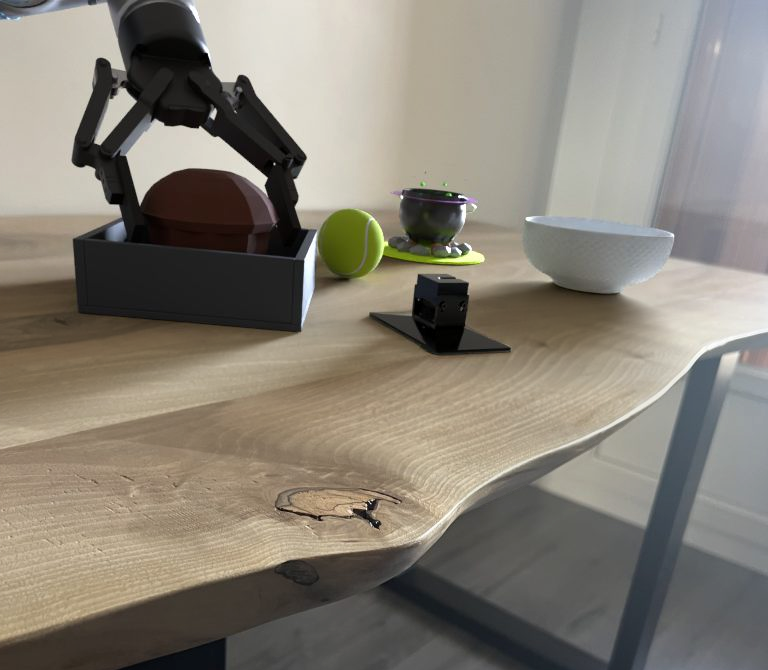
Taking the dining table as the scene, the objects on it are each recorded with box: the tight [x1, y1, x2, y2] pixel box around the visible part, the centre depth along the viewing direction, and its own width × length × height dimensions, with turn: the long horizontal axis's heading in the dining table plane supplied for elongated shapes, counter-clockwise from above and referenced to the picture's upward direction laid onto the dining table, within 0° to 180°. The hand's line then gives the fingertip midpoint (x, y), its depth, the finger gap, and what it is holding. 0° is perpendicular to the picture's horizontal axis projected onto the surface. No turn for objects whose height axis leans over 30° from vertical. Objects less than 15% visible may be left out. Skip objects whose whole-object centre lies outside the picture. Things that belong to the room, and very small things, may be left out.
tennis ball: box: [317, 208, 385, 279], centre depth 86 cm, size 7×7×7 cm
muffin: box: [139, 167, 280, 255], centre depth 70 cm, size 12×11×10 cm
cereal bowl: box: [521, 215, 675, 294], centre depth 95 cm, size 17×17×7 cm
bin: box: [72, 215, 319, 333], centre depth 71 cm, size 18×18×6 cm
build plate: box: [368, 273, 512, 356], centre depth 68 cm, size 12×7×5 cm, turn 27°
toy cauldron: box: [382, 163, 485, 265], centre depth 105 cm, size 15×15×11 cm
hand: (218, 237), depth 68 cm, fingers open, 13 cm apart
